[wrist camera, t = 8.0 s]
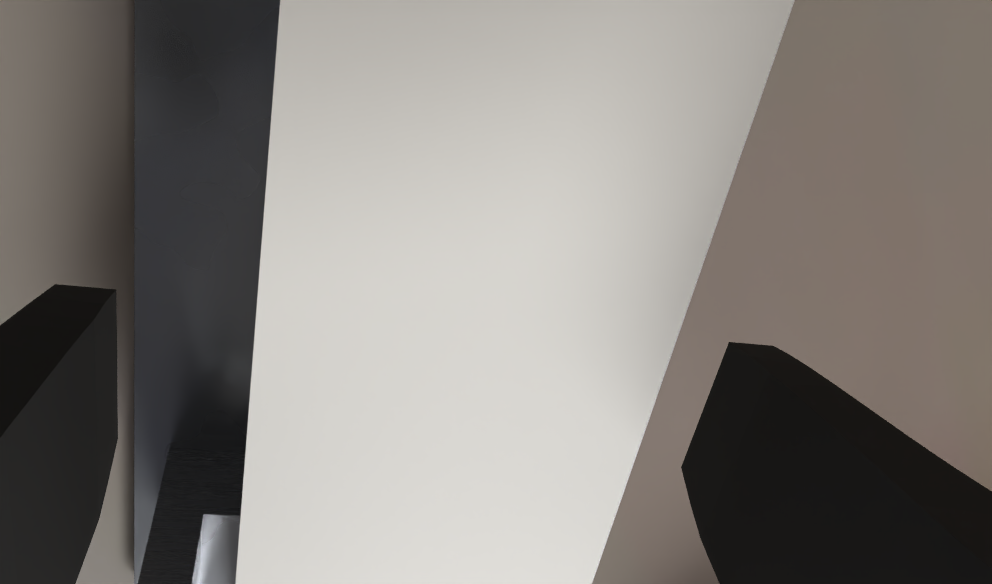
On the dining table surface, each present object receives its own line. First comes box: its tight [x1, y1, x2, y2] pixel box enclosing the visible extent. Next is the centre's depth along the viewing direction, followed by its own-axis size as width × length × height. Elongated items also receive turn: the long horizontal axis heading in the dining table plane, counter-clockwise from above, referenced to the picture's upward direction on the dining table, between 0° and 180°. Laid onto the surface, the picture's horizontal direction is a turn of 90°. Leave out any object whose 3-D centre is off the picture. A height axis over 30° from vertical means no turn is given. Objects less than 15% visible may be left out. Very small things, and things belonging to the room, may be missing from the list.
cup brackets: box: [134, 0, 280, 584], centre depth 14 cm, size 8×20×5 cm, turn 169°
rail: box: [235, 0, 795, 584], centre depth 12 cm, size 4×18×5 cm, turn 169°
